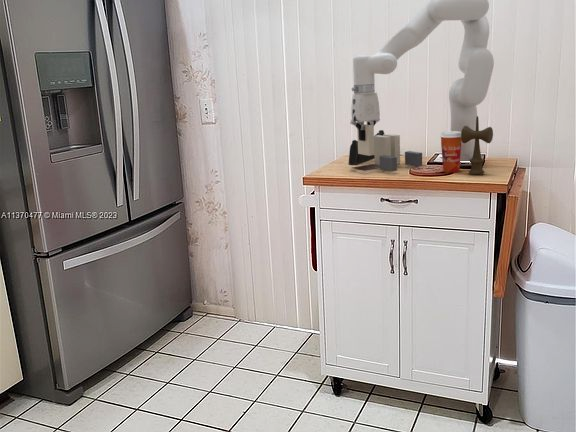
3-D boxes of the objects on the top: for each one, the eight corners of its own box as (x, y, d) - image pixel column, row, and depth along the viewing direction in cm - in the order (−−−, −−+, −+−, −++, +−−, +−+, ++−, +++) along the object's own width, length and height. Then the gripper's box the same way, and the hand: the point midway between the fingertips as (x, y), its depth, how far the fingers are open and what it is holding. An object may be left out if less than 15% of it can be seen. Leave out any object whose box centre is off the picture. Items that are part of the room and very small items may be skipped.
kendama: (466, 171, 212) (466, 114, 206) (493, 173, 206) (494, 115, 201) (459, 175, 207) (460, 116, 202) (487, 176, 201) (488, 117, 196)
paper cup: (438, 173, 212) (438, 134, 208) (441, 169, 219) (441, 131, 215) (461, 173, 209) (461, 133, 205) (463, 169, 216) (464, 130, 212)
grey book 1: (397, 173, 217) (396, 157, 215) (392, 174, 216) (391, 158, 214) (385, 171, 223) (384, 155, 221) (379, 172, 221) (379, 156, 220)
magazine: (351, 146, 228) (384, 114, 248) (344, 145, 230) (377, 114, 250) (359, 185, 236) (390, 151, 256) (352, 184, 238) (383, 151, 258)
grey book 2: (422, 168, 222) (422, 152, 221) (417, 169, 221) (417, 153, 220) (409, 166, 228) (409, 150, 227) (405, 167, 227) (404, 151, 225)
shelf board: (401, 167, 228) (401, 164, 228) (364, 174, 220) (364, 170, 220) (386, 164, 236) (386, 161, 235) (350, 170, 228) (350, 167, 227)
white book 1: (374, 154, 221) (373, 125, 218) (369, 155, 220) (368, 125, 217) (363, 152, 227) (362, 123, 224) (358, 153, 226) (357, 124, 223)
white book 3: (400, 163, 228) (399, 135, 225) (395, 164, 227) (394, 135, 224) (388, 161, 234) (388, 133, 231) (383, 162, 233) (383, 134, 230)
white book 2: (391, 165, 226) (390, 136, 223) (386, 166, 225) (385, 137, 222) (379, 163, 232) (378, 135, 229) (374, 164, 231) (373, 135, 228)
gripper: (352, 91, 211) (354, 143, 215) (388, 88, 218) (389, 138, 223) (340, 91, 217) (342, 141, 222) (375, 87, 225) (376, 136, 229)
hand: (365, 139), depth 222 cm, fingers closed on white book 1, 2 cm apart
